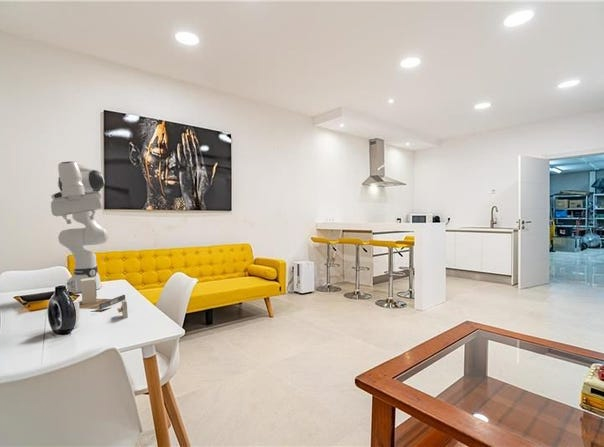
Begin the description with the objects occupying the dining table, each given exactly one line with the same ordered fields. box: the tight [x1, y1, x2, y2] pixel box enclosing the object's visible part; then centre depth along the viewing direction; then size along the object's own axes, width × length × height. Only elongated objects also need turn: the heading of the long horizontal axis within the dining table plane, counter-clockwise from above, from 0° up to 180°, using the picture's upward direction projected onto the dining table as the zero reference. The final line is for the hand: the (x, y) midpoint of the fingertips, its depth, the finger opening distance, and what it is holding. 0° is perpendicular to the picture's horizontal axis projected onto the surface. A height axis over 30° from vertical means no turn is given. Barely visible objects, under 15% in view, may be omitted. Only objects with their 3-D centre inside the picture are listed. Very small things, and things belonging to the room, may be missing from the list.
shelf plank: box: [78, 294, 126, 313], centre depth 163 cm, size 23×16×4 cm
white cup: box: [72, 301, 80, 330], centre depth 133 cm, size 8×8×10 cm
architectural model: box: [116, 299, 128, 319], centre depth 146 cm, size 3×7×7 cm, turn 36°
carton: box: [81, 277, 98, 304], centre depth 166 cm, size 6×6×12 cm
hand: (81, 221), depth 151 cm, fingers open, 8 cm apart
